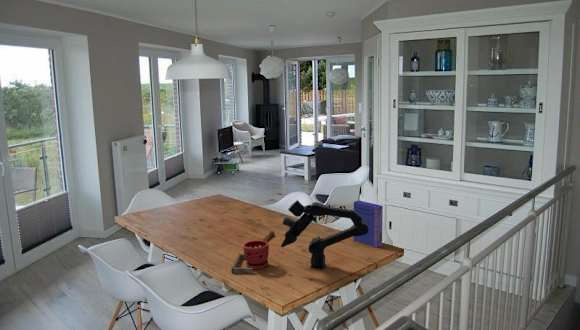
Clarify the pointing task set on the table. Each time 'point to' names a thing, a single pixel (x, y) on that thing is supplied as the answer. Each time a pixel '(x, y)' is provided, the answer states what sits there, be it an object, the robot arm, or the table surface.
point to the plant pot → (256, 254)
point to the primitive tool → (268, 236)
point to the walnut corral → (241, 270)
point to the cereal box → (370, 223)
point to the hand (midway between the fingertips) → (283, 244)
